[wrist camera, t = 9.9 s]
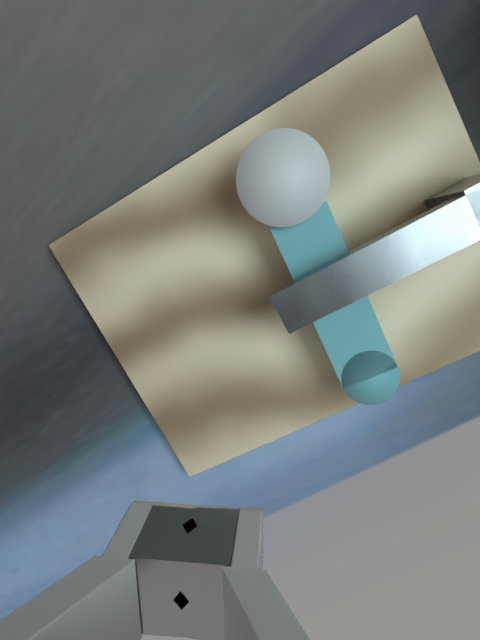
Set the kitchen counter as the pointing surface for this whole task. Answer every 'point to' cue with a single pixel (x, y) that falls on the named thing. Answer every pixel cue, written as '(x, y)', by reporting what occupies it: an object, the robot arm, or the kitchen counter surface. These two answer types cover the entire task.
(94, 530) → the kitchen counter surface
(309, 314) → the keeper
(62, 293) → the kitchen counter surface
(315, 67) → the kitchen counter surface
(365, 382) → the lever with ball knob
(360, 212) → the base board
